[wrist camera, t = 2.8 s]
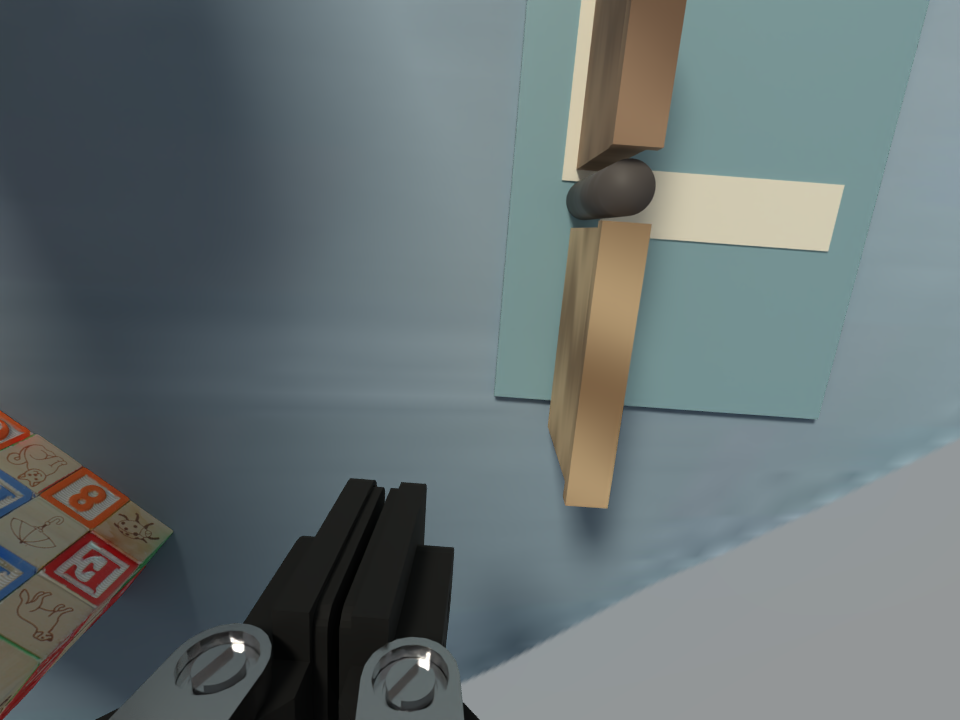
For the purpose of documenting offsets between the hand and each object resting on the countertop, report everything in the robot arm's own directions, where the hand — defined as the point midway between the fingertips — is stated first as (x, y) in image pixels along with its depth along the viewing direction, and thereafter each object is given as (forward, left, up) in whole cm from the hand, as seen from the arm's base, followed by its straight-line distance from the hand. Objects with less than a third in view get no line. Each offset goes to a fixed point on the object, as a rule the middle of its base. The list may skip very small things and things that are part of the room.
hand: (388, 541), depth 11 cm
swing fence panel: (-2, +6, -14) cm, 16 cm away
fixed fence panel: (-13, +6, -15) cm, 21 cm away
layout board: (-9, +11, -15) cm, 21 cm away
